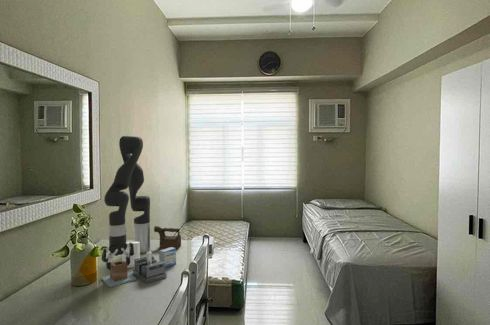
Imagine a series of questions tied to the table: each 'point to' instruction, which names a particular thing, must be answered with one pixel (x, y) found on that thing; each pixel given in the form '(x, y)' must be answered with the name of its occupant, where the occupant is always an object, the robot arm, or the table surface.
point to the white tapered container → (136, 253)
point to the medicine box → (168, 256)
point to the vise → (149, 268)
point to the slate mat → (115, 283)
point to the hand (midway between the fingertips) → (118, 267)
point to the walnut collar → (118, 270)
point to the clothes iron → (168, 238)
